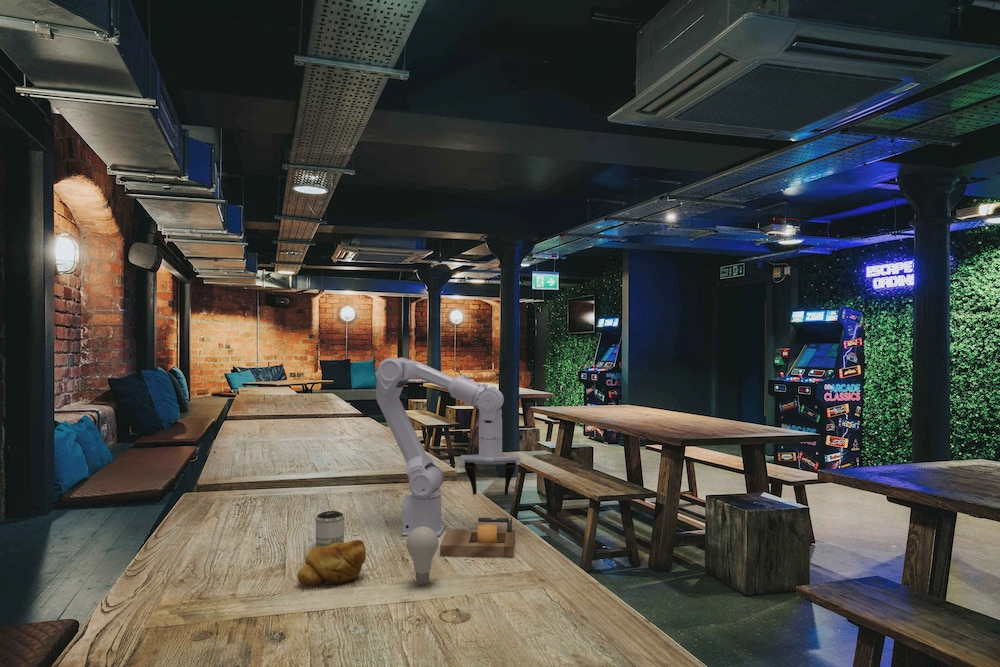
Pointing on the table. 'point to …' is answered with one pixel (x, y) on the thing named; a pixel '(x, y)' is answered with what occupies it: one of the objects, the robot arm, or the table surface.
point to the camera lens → (329, 528)
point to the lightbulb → (422, 551)
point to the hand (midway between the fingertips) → (490, 494)
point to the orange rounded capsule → (487, 533)
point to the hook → (508, 520)
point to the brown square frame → (476, 544)
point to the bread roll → (333, 564)
